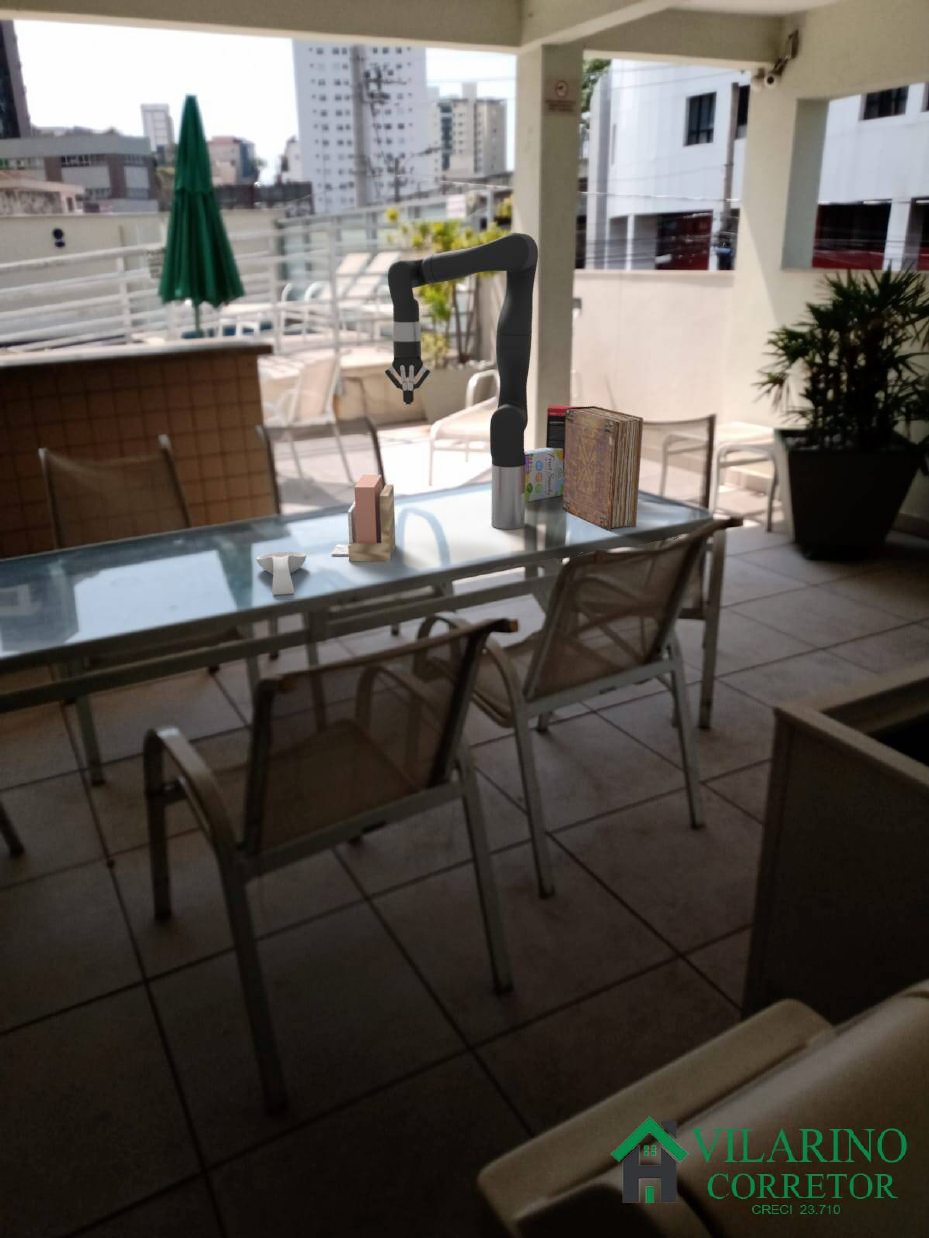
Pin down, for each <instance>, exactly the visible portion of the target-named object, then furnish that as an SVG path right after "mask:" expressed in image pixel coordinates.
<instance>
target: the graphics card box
mask: <svg viewBox="0 0 929 1238" xmlns="http://www.w3.org/2000/svg"><path fill="white" fill-rule="evenodd" d="M575 407H578V406H573V405H572V406H571V405H549V406H548V407H547V411H546V414H547V415H546V439H545V440H546V442H545V443H546V444H545V448H562V449H563V470H564V453H565V420H566V409H567V408H575ZM600 408H603V407H600Z"/></svg>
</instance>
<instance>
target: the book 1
mask: <svg viewBox="0 0 929 1238" xmlns="http://www.w3.org/2000/svg"><path fill="white" fill-rule="evenodd" d="M382 490H383V479H382V474H362V475H361V477H360V478H359V480H358V481H357V483H356V484H355V486H354V501H355V509H356V529H357V543H382V542H381V517H380V494H381V492H382Z"/></svg>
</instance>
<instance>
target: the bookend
mask: <svg viewBox="0 0 929 1238" xmlns="http://www.w3.org/2000/svg"><path fill="white" fill-rule="evenodd" d="M347 523H348V525H347V526H348V527H347V528H348V540H349V541H348V542H349V543H357V529H356V509H355V500H354V501H353V502H352V505H351V506H350V508H349V509H348V510H347ZM349 543H348V544H336V546H335V547H334V549H333V551H332V552H331V557H349V553H348V545H349Z"/></svg>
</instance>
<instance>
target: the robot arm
mask: <svg viewBox="0 0 929 1238" xmlns="http://www.w3.org/2000/svg"><path fill="white" fill-rule="evenodd" d="M538 259H539V248H538V244H537V243H536V240H534V238H533V237H532V236H530V235H529V234H527V233H521V232H511V233H508V234H506V235H504V236H501V237H499V238H496V239H495V240H492V241H490V242H486V243H484V244H483V243H482V244H480V245H476V246H473V247H468V248H462V249H455V250H450V251H449V250H448V251H444V252H439V253H435V254H430V255H427V256H425V257H421V258H417V259H416V258H415V259H409V260H407V259H405V260H403V259H402V260H395V261H394V262H392V263H391V264H390V266H389V268H388V272H387V285H388V289H389V293H390V299H391V302H392V306H393V307H392V310H393V313H392V315H393V316H392V317H393V327H392V339H393V340H392V342H393V343H392V347H393V361H392V363H391V366H390V367H388V368H387V369H386V370H385V371H384V372H385V375H386V376H387V377H388V378H389V380H390V381H391V382H392V384H393V385H394V386H395V388H396V389H400V390H402V401H403V403H405V405H412V403H413V402H414V399H415V397H414V395H415V390H416V389H419V388H420V387H421V386H422V384H423V383H424V381H425V380H426V379H427V377H428V376H429V375H430V373H431V369H429V368H427V367H426V366H425V365H424V362H423V360H422V341H421V339H422V335H421V333H422V332H421V323H420V304H419V301H418V299H416V298H415V297H414V291H413V290H414V289H415V288H418V287H422V286H423V287H424V286H426V285H430V284H437V283H438V284H439V283H443V282H449V281H453V280H457V279H462V278H464V277H468V276H470V275H474V274H480V273H485V272H505V273H506V275H505V277H506V285H505V286H506V289H505V295H504V300H503V304H502V307H501V308H500V309H501V310H500V312H499V316H498V321H497V325H496V338H495V339H496V340H495V355H496V364H497V370H498V375H499V376H498V377H499V393H498V394H499V395H498V403H497V408H496V409H495V411H494V412H493V413H492V415H491V418H490V423H489V448H490V449H489V451H490V456H491V517H490V519H491V526H492V527H494V528H498V529H505V530H514V529H521V528H525V525H526V524H525V523H526V522H525V521H526V520H525V517H526V516H525V514H526V502H525V463H526V455H525V452H524V451H525V431H526V428H527V426H528V424H529V423H528V421H529V413H528V396H527V395H528V393H527V391H528V390H527V386H528V377H529V371H530V370H529V369H530V361H531V354H532V353H531V352H532V340H533V339H532V337H533V332H532V331H533V313H534V312H533V311H534V310H533V308H534V307H533V305H534V304H533V300H534V297H533V296H534V295H533V294H534V288H535V287H534V286H535V281H536V280H535V279H536V271H537V266H538ZM420 371H421V372H420ZM395 373H397V375H398V376H399V377H400V378H401V379H400V380H401V382H400V381H399V379H398V378H397V377H396V376H395ZM419 373H420V374H421V376H420V378H419V379H418V381H417V382H416V383H415V379H416V377H417V376H418V374H419Z"/></svg>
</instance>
